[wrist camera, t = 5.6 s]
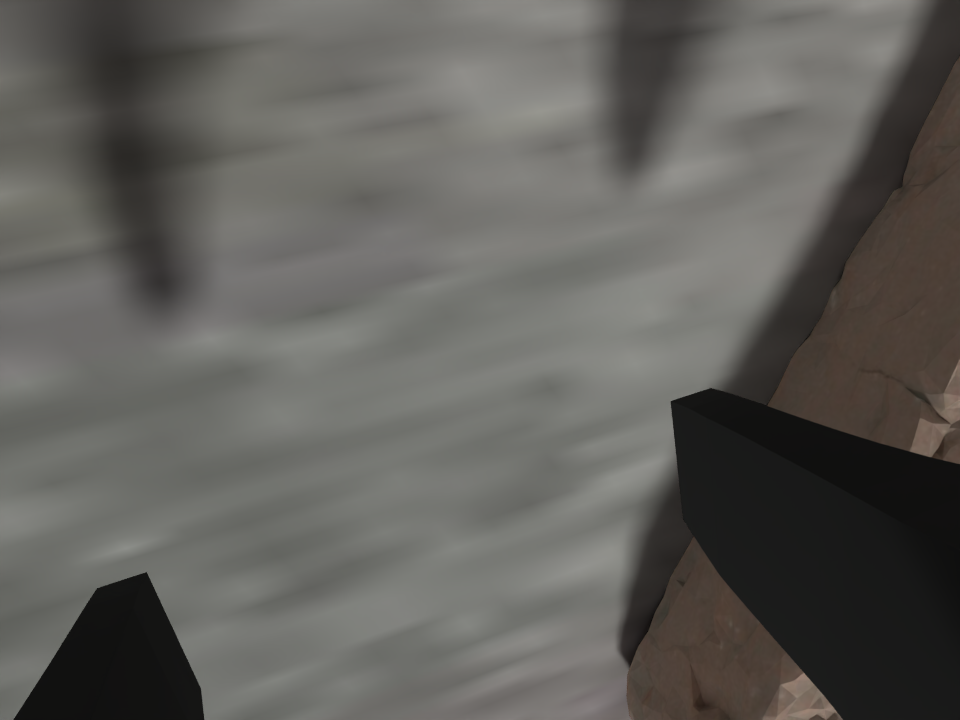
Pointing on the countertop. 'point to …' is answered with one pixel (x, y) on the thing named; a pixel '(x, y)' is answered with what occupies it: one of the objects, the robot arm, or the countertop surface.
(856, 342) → the brick
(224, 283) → the countertop surface
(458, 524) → the countertop surface
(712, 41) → the countertop surface
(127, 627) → the robot arm
